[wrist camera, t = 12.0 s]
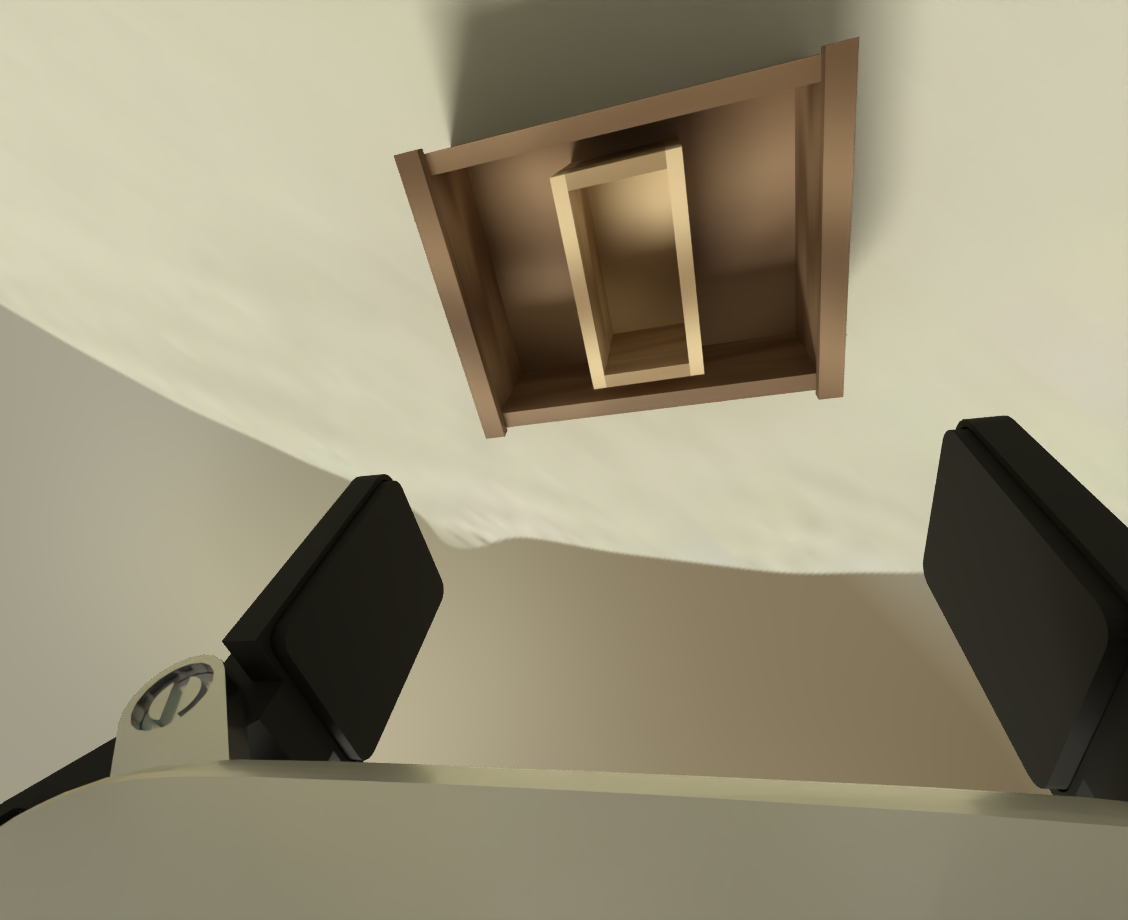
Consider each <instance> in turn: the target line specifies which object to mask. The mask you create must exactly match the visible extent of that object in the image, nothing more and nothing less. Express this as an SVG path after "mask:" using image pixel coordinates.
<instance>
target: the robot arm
mask: <svg viewBox="0 0 1128 920" xmlns="http://www.w3.org/2000/svg"><path fill="white" fill-rule="evenodd" d="M923 570H924V575H925V579H926V581H927V584H928V586H929V588H930V590H931V591H932V593H933V595H934V597H935V599H936V601H937V603H938V605H939V607H940V609H941V610H942V612H943V614H944V616H945V618H946V620H947V622H948V624H949V626H950V628H951V629H952V631H953V633H954V635H955V637H956V639H957V641H958V643H959V645H960V646H961V648H962V650H963V652H964V654H965V656H966V658H967V660H968V662H969V664H970V665H971V667H972V669H973V671H974V673H975V675H976V677H977V679H978V680H979V682H980V684H981V686H982V688H983V690H984V692H985V694H986V696H987V698H988V700H989V701H990V703H991V705H992V707H993V709H994V711H995V713H996V715H997V717H998V718H999V720H1000V722H1001V724H1002V726H1003V728H1004V730H1005V732H1006V734H1007V735H1008V737H1009V739H1010V741H1011V743H1012V745H1013V747H1014V749H1015V751H1016V752H1017V754H1018V756H1019V758H1020V760H1021V762H1022V764H1023V766H1024V768H1025V769H1026V772H1027V773H1028V775H1029V776H1030V778H1031V780H1032V781H1033V782H1034V783H1035V784H1036V786H1038V787H1040V788H1042V789H1050V791H1051V793H1052V794H1053V795H1042V794H1027V793H1011V792H995V791H979V790H964V789H948V788H932V787H915V786H894V785H893V786H892V785H874V784H853V783H832V782H811V781H810V782H809V781H790V780H770V779H769V780H768V779H749V778H727V777H707V776H685V775H661V774H639V773H616V772H592V771H569V770H568V771H567V770H546V769H522V768H521V769H520V768H497V767H471V766H446V765H417V764H390V763H365V762H363V761H364V760H366V759H368V758H370V756H371V755H372V754H373V752H374V750H375V749H376V746H377V744H378V742H379V740H380V737H381V735H382V733H383V731H384V729H385V726H386V724H387V722H388V719H389V717H390V715H391V713H392V710H393V708H394V706H395V704H396V701H397V699H398V697H399V695H400V693H401V690H402V688H403V686H404V684H405V682H406V679H407V677H408V675H409V673H410V670H411V668H412V666H413V664H414V661H415V659H416V657H417V655H418V652H419V650H420V648H421V646H422V643H423V641H424V639H425V637H426V635H427V632H428V630H429V628H430V625H431V623H432V621H433V619H434V617H435V614H436V612H437V610H438V607H439V605H440V603H441V601H442V598H443V582H442V579H441V577H440V575H439V573H438V570H437V568H436V566H435V563H434V561H433V558H432V556H431V554H430V551H429V549H428V547H427V544H426V542H425V540H424V538H423V535H422V533H421V531H420V528H419V526H418V524H417V522H416V519H415V517H414V514H413V512H412V510H411V507H410V505H409V503H408V500H407V498H406V496H405V493H404V491H403V489H402V487H401V485H400V484H399V483H398V482H397V481H393V480H392V478H391V477H389V476H388V475H386V474H381V475H370V476H360V477H356V478H355V479H354V480H353V481H352V482H351V483H350V485H349V486H348V487H347V488H346V489H345V491H344V492H343V493H342V494H341V496H340V497H339V498H338V499H337V501H336V502H335V503H334V504H333V505H332V507H331V508H330V509H329V511H328V512H327V513H326V514H325V516H323V518H322V519H321V520H320V521H319V523H318V524H317V525H316V526H315V527H314V529H313V530H312V531H311V532H310V534H309V535H308V536H307V537H306V539H305V540H304V541H303V542H302V544H301V545H300V546H299V547H298V548H297V550H296V551H295V552H294V553H293V554H292V556H291V557H290V558H289V560H288V561H287V562H286V563H285V564H284V566H283V567H282V568H281V569H280V570H279V572H278V573H277V574H276V575H275V577H274V578H273V579H272V580H271V581H270V583H269V584H268V585H267V586H266V588H265V589H264V590H263V591H262V593H261V594H260V595H259V596H258V597H257V599H256V600H255V601H254V602H253V604H252V605H251V606H250V607H249V608H248V610H247V611H246V612H245V613H244V615H243V616H242V617H241V618H240V620H239V621H238V622H237V624H235V626H234V627H233V628H232V629H231V631H230V632H229V633H228V634H227V636H226V637H225V638H224V639H223V640H222V642H223V643H224V645H225V646H226V647H227V649H228V650H229V651H230V653H231V655H230V656H229V657H228V658H227V660H226V661H225V662H223V661H222V660H221V659H219V658H218V657H216V656H214V655H199V656H195V657H190V658H187V659H185V660H183V661H180V662H178V663H175V664H174V665H172V666H170V667H169V668H167V669H165V670H163V671H162V672H160V673H159V674H157V675H156V676H155V677H154V678H152V679H151V680H150V681H149V682H147V683H146V684H145V685H144V686H143V687H142V688H141V689H140V690H139V691H138V692H137V693H136V694H135V695H134V696H133V697H132V699H131V700H130V701H129V703H128V704H127V706H126V707H125V709H124V711H123V713H122V715H121V718H120V721H119V725H118V730H117V736H116V737H115V738H114V739H112V740H110V741H108V742H107V743H105V744H103V745H101V746H100V747H98V748H96V749H95V750H93V751H91V752H90V753H88V754H86V755H84V756H82V757H81V758H79V759H77V760H76V761H74V762H72V763H70V764H69V765H67V766H65V767H64V768H62V769H60V770H58V771H57V772H55V773H53V774H51V775H50V776H48V777H46V778H45V779H43V780H41V781H39V782H38V783H36V784H34V785H33V786H31V787H29V788H27V789H25V790H24V791H22V792H20V793H19V794H17V795H15V796H14V797H12V798H10V799H8V800H6V801H5V802H3V803H2V804H0V920H1128V527H1127V526H1126V525H1124V524H1123V523H1122V522H1121V521H1120V520H1119V519H1118V518H1117V517H1116V516H1115V515H1114V514H1113V513H1112V512H1111V511H1110V510H1109V509H1108V508H1106V507H1105V506H1104V505H1103V504H1102V503H1101V502H1100V501H1099V500H1098V499H1097V498H1096V497H1095V496H1094V495H1093V494H1092V493H1091V492H1090V491H1089V490H1087V489H1086V488H1085V487H1084V486H1083V485H1082V484H1081V483H1080V482H1079V481H1078V480H1077V479H1076V478H1075V477H1074V476H1073V475H1072V474H1071V473H1069V472H1068V471H1067V470H1066V469H1065V468H1064V467H1063V466H1062V465H1061V464H1060V463H1059V462H1058V461H1057V460H1056V459H1055V458H1054V457H1053V456H1052V455H1050V454H1049V453H1048V452H1047V451H1046V450H1045V449H1044V448H1043V447H1042V446H1041V445H1040V444H1039V443H1038V442H1037V441H1036V440H1035V439H1034V438H1032V437H1031V436H1030V435H1029V434H1028V433H1027V432H1026V431H1025V430H1024V429H1023V428H1022V427H1021V426H1020V425H1019V424H1018V423H1017V422H1016V421H1015V420H1013V419H1012V418H1011V417H1009V416H995V417H984V418H974V419H963V420H962V421H960V422H959V423H958V425H957V427H956V430H948V431H947V432H946V433H945V435H944V437H943V442H942V448H941V454H940V460H939V466H938V473H937V479H936V485H935V491H934V497H933V503H932V509H931V516H930V522H929V528H928V534H927V540H926V546H925V552H924V559H923Z"/></svg>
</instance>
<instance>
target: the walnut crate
mask: <svg viewBox="0 0 1128 920" xmlns="http://www.w3.org/2000/svg"><path fill="white" fill-rule="evenodd" d="M858 48H859V37H856V38H852V39H848V40H844V41H840V42H836V43H832V44H829V45H825V46H822V47H821V54H818V55H814V56H810V57H807V58H803V59H799V60H795V61H791V62H787V63H783V64H779V65H775V66H771V67H767V68H763V69H759V70H755V71H751V72H747V73H743V74H739V75H735V76H731V77H727V78H723V79H719V80H715V81H712V82H708V83H704V84H700V85H696V86H692V87H688V88H684V89H680V90H676V91H672V92H668V93H664V94H660V95H656V96H652V97H648V98H644V99H640V100H636V101H632V102H628V103H624V104H621V105H617V106H613V107H609V108H605V109H601V110H597V111H593V112H589V113H585V114H581V115H577V116H573V117H569V118H565V119H561V120H557V121H553V122H549V123H545V124H541V125H537V126H533V127H529V128H526V129H522V130H518V131H514V132H510V133H506V134H502V135H498V136H494V137H490V138H486V139H482V140H478V141H474V142H470V143H466V144H462V145H458V146H454V147H450V148H446V149H442V150H438V151H435V152H431V153H427V154H424V153H423V149H418V150H414V151H410V152H406V153H402V154H398V155H394V158H395V161H396V164H397V167H398V170H399V173H400V176H401V179H402V182H403V185H404V188H405V191H406V195H407V198H408V201H409V204H410V207H411V210H412V213H413V216H414V219H415V222H416V225H417V228H418V231H419V234H420V237H421V240H422V244H423V247H424V250H425V253H426V256H427V259H428V262H429V265H430V268H431V271H432V274H433V277H434V280H435V283H436V286H437V289H438V293H439V296H440V299H441V302H442V305H443V308H444V311H445V314H446V317H447V320H448V323H449V326H450V329H451V332H452V335H453V338H454V342H455V345H456V348H457V351H458V354H459V357H460V360H461V363H462V366H463V369H464V372H465V375H466V378H467V381H468V384H469V387H470V391H471V394H472V397H473V400H474V403H475V406H476V409H477V412H478V415H479V418H480V421H481V424H482V427H483V430H484V433H485V436H486V439H488V438H496V437H505V435H506V433H507V428H506V427H513V426H521V425H529V424H538V423H546V422H554V421H562V420H571V419H579V418H587V417H595V416H604V415H612V414H620V413H628V412H636V411H645V410H653V409H661V408H669V407H678V406H686V405H694V404H702V403H711V402H719V401H727V400H735V399H744V398H752V397H760V396H768V395H776V394H785V393H793V392H801V391H809V390H816V395H817V397H818V399H819V400H820V399H828V398H837V397H843V390H844V367H845V344H846V321H847V299H848V276H849V253H850V230H851V208H852V185H853V162H854V139H855V117H856V94H857V71H858ZM677 137H678V138H679V140H680V143H681V146H682V153H683V164H684V174H685V184H686V194H687V204H688V214H689V224H690V234H691V244H692V254H693V264H694V274H695V284H696V294H697V304H698V314H699V324H700V334H701V344H702V355H703V365H704V374H701V375H693V376H686V377H679V378H672V379H665V380H657V381H650V382H643V383H636V384H629V385H621V386H614V387H607V388H600V389H594V387H593V383H592V378H591V373H590V368H589V363H588V359H587V354H586V349H585V344H584V340H583V335H582V330H581V325H580V321H579V316H578V311H577V306H576V302H575V297H574V292H573V287H572V283H571V278H570V273H569V268H568V264H567V259H566V254H565V249H564V245H563V240H562V235H561V230H560V226H559V221H558V216H557V211H556V207H555V202H554V197H553V192H552V188H551V183H550V177H551V176H553V175H554V174H556V173H557V172H559V171H560V170H561V169H563V168H564V167H566V166H567V165H569V164H570V163H572V162H577V161H581V160H585V159H589V158H593V157H597V156H602V155H606V154H610V153H614V152H618V151H622V150H627V149H631V148H635V147H639V146H643V145H647V144H652V143H656V142H660V141H664V140H668V139H672V138H677Z"/></svg>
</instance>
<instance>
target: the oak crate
mask: <svg viewBox="0 0 1128 920" xmlns="http://www.w3.org/2000/svg"><path fill="white" fill-rule="evenodd" d="M550 183H551V188H552V192H553V197H554V202H555V207H556V211H557V216H558V221H559V226H560V230H561V235H562V240H563V245H564V249H565V254H566V259H567V264H568V268H569V273H570V278H571V283H572V287H573V292H574V297H575V302H576V306H577V311H578V316H579V321H580V325H581V330H582V335H583V340H584V344H585V349H586V354H587V359H588V363H589V368H590V373H591V378H592V383H593V387H594V389H600V388H607V387H614V386H621V385H629V384H636V383H643V382H650V381H657V380H665V379H672V378H679V377H686V376H693V375H701V374H704V365H703V355H702V344H701V334H700V324H699V314H698V304H697V294H696V284H695V274H694V264H693V254H692V244H691V234H690V224H689V214H688V204H687V194H686V184H685V174H684V164H683V153H682V146H681V143H680V140H679V138H678V137H677V138H672V139H668V140H664V141H660V142H656V143H652V144H647V145H643V146H639V147H635V148H631V149H627V150H622V151H618V152H614V153H610V154H606V155H602V156H597V157H593V158H589V159H585V160H581V161H577V162H572V163H570V164H569V165H567V166H566V167H564V168H563V169H561V170H560V171H559V172H557V173H556V174H554V175H553V176H551V177H550Z"/></svg>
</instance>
